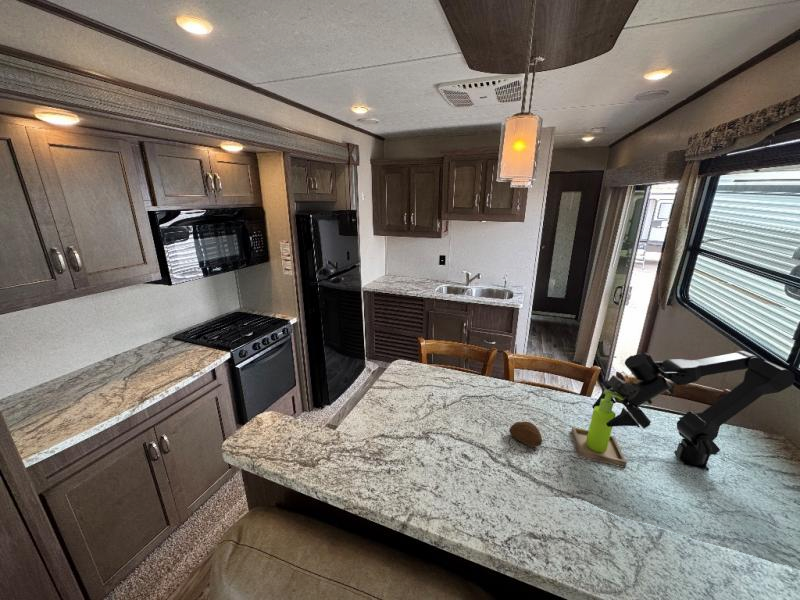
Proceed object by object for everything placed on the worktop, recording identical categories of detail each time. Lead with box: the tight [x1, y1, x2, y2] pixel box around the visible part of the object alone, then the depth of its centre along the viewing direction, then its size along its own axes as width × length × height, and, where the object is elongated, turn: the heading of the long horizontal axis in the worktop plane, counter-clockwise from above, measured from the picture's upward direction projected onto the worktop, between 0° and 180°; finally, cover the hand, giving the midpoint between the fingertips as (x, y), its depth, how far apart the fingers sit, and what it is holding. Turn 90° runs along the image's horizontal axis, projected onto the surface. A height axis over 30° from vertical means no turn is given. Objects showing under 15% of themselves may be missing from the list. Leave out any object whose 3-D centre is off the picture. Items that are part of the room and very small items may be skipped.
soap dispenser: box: [586, 390, 625, 452], centre depth 100 cm, size 6×7×20 cm
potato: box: [508, 421, 543, 448], centre depth 104 cm, size 7×10×7 cm
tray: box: [571, 426, 628, 468], centre depth 103 cm, size 13×13×2 cm
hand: (599, 416), depth 100 cm, fingers open, 9 cm apart
